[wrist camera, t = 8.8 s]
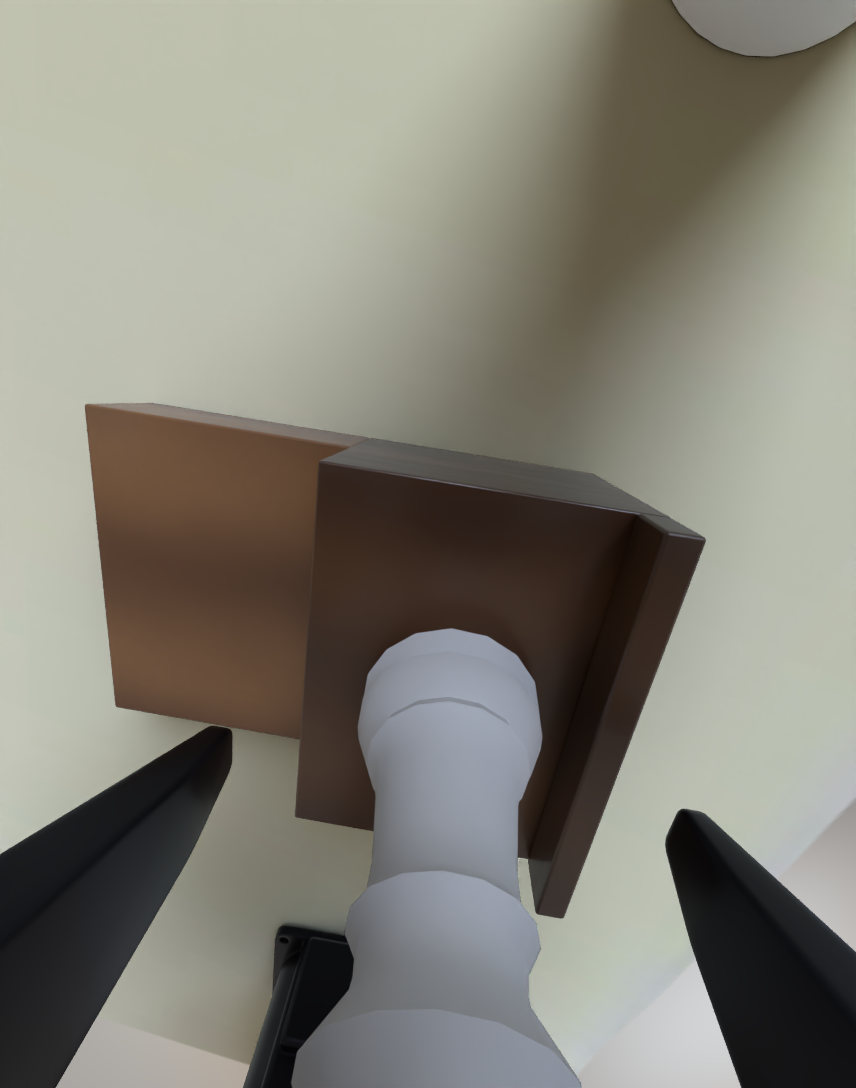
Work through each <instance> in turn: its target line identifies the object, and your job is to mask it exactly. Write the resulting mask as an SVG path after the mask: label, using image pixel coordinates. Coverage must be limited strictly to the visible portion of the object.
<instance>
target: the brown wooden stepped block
mask: <svg viewBox="0 0 856 1088" xmlns="http://www.w3.org/2000/svg"><path fill="white" fill-rule="evenodd" d="M85 413H86V423H87V433H88V442H89V452H90V462H91V471H92V481H93V491H94V501H95V510H96V520H97V530H98V540H99V549H100V559H101V569H102V578H103V588H104V598H105V608H106V617H107V627H108V637H109V647H110V656H111V666H112V676H113V685H114V695H115V705H116V707H119V708H125V709H131V710H136V711H142V712H148V713H153V714H159V715H165V716H170V717H176V718H182V719H187V720H193V721H199V722H204V723H210V724H216V725H222V726H227V727H233V728H239V729H244V730H250V731H256V732H261V733H267V734H273V735H278V736H284V737H290V738H295V739H300V748H299V763H298V778H297V793H296V808H295V817H297V818H303V819H309V820H314V821H320V822H325V823H331V824H336V825H342V826H347V827H353V828H358V829H364V830H370V831H374V817H375V800H376V795H375V790H374V789H373V786H372V783H371V780H370V776H369V773H368V769H367V766H366V763H365V759H364V756H363V752H362V749H361V746H360V742H359V739H358V722H359V717H360V711H361V706H362V701H363V697H364V692H365V687H366V681H367V676H368V673H369V672H370V671H371V669H372V668H373V667H374V665H375V664H376V663H377V661H378V660H379V659H380V657H381V656H382V655H383V653H384V652H385V651H386V649H388V648H390V647H392V646H394V645H396V644H397V643H399V642H401V641H403V640H405V639H406V638H408V637H410V636H412V635H414V634H415V633H422V632H429V631H436V630H444V629H451V628H452V629H457V630H461V631H466V632H470V633H475V634H480V635H484V636H488V637H490V638H491V639H493V640H494V641H496V642H497V643H499V644H500V645H502V646H503V647H505V648H506V649H508V650H510V651H511V652H513V653H514V654H516V655H517V656H518V658H519V659H520V660H521V662H522V663H523V665H524V666H525V668H526V669H527V671H528V672H529V674H530V675H531V677H532V678H533V680H534V681H535V685H536V693H537V700H538V707H539V716H540V723H541V730H542V743H541V750H540V752H539V755H538V758H537V761H536V763H535V766H534V769H533V772H532V774H531V777H530V778H529V781H528V783H527V786H526V789H525V792H524V794H523V797H522V799H521V800H520V801H519V805H518V857H519V858H525V859H528V864H529V871H530V878H531V885H532V892H533V899H534V906H535V911H536V913H537V914H538V915H544V916H549V917H555V918H560V919H562V918H564V916H565V913H566V911H567V908H568V905H569V903H570V900H571V897H572V895H573V892H574V889H575V887H576V884H577V881H578V879H579V876H580V873H581V871H582V868H583V866H584V863H585V860H586V858H587V855H588V852H589V850H590V847H591V844H592V842H593V839H594V836H595V834H596V831H597V828H598V826H599V823H600V820H601V818H602V815H603V812H604V810H605V807H606V805H607V802H608V799H609V797H610V794H611V791H612V789H613V786H614V783H615V781H616V778H617V775H618V773H619V770H620V767H621V765H622V762H623V759H624V757H625V754H626V751H627V749H628V746H629V744H630V741H631V738H632V736H633V733H634V730H635V728H636V725H637V722H638V720H639V717H640V714H641V712H642V709H643V706H644V704H645V701H646V698H647V696H648V693H649V690H650V688H651V685H652V683H653V680H654V677H655V675H656V672H657V669H658V667H659V664H660V661H661V659H662V656H663V653H664V651H665V648H666V645H667V643H668V640H669V637H670V635H671V632H672V629H673V627H674V624H675V622H676V619H677V616H678V614H679V611H680V608H681V606H682V603H683V600H684V598H685V595H686V592H687V590H688V587H689V584H690V582H691V579H692V576H693V574H694V571H695V568H696V566H697V563H698V561H699V558H700V555H701V553H702V550H703V547H704V545H705V538H704V537H703V536H701V535H699V534H697V533H696V532H694V531H692V530H690V529H689V528H687V527H685V526H683V525H682V524H680V523H678V522H676V521H675V520H673V519H671V518H670V517H668V516H666V515H665V514H663V513H661V512H659V511H658V510H656V509H654V508H652V507H651V506H649V505H647V504H645V503H644V502H642V501H640V500H638V499H637V498H635V497H633V496H631V495H630V494H628V493H626V492H624V491H623V490H621V489H619V488H617V487H615V486H614V485H612V484H610V483H608V482H607V481H605V480H603V479H601V478H600V477H598V476H596V475H594V474H591V473H585V472H579V471H573V470H566V469H560V468H554V467H548V466H542V465H535V464H529V463H523V462H517V461H510V460H504V459H498V458H492V457H486V456H479V455H473V454H467V453H461V452H454V451H448V450H442V449H436V448H429V447H423V446H417V445H411V444H405V443H398V442H392V441H386V440H380V439H373V438H371V439H369V438H367V437H361V436H354V435H348V434H342V433H336V432H329V431H323V430H317V429H311V428H305V427H298V426H292V425H286V424H280V423H273V422H267V421H261V420H255V419H248V418H242V417H236V416H230V415H224V414H217V413H211V412H205V411H199V410H192V409H186V408H180V407H174V406H168V405H161V404H155V403H120V404H86V405H85Z"/></svg>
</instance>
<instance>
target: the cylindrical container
mask: <svg viewBox="0 0 856 1088" xmlns="http://www.w3.org/2000/svg"><path fill="white" fill-rule="evenodd" d="M672 1H673V3H674V5H675V6H676V8H677V10H678V12H679V13H680V15H681V16H682V17H683V18H684V19H685V20H686V21H687V22H688V23H689V24H690V26H691V27H692V28H693V29H694V30H695V31H696V32H697V33H698V34H700V35H701V36H703V37H704V38H706V39H707V40H709V41H710V42H712V43H713V44H715V45H717V46H718V47H720V48H723V49H726V50H729V51H732V52H736V53H739V54H742V55H745V56H778V55H783V54H787V53H792V52H796V51H801V50H805V49H807V48H809V47H811V46H814V45H816V44H818V43H820V42H822V41H825V40H827V39H829V38H831V37H833V36H835V35H837V34H838V33H839V32H841V31H842V30H844V29H845V28H847V27H848V26H850V25H851V24H853V23H854V22H855V21H856V0H672Z"/></svg>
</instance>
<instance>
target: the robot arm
mask: <svg viewBox="0 0 856 1088" xmlns="http://www.w3.org/2000/svg"><path fill="white" fill-rule="evenodd" d="M231 765H232V731H231V730H230V729H229V728H224V727H218V726H210V727H207V728H206V729H204V730H202V731H201V732H199V733H197V734H196V735H194V736H193V737H191V738H189V739H188V740H186V741H184V742H183V743H181V744H180V745H178V746H176V747H175V748H173V749H171V750H170V751H168V752H166V753H165V754H163V755H162V756H160V757H158V758H157V759H155V760H153V761H152V762H150V763H148V764H147V765H145V766H144V767H142V768H140V769H139V770H137V771H135V772H134V773H132V774H130V775H129V776H127V777H126V778H124V779H122V780H121V781H119V782H117V783H116V784H114V785H112V786H111V787H109V788H108V789H106V790H104V791H103V792H101V793H99V794H98V795H96V796H95V797H93V798H91V799H90V800H88V801H86V802H85V803H83V804H81V805H80V806H78V807H77V808H75V809H73V810H72V811H70V812H68V813H67V814H65V815H63V816H62V817H60V818H59V819H57V820H55V821H54V822H52V823H50V824H49V825H47V826H45V827H44V828H42V829H41V830H39V831H37V832H36V833H34V834H32V835H31V836H29V837H27V838H26V839H24V840H23V841H21V842H19V843H18V844H16V845H14V846H13V847H11V848H9V849H8V850H6V851H5V852H3V853H1V854H0V1088H55V1087H56V1086H57V1084H58V1082H59V1081H60V1079H61V1077H62V1076H63V1074H64V1072H65V1071H66V1069H67V1067H68V1065H69V1064H70V1062H71V1060H72V1059H73V1057H74V1055H75V1053H76V1052H77V1050H78V1048H79V1046H80V1045H81V1043H82V1041H83V1040H84V1038H85V1036H86V1034H87V1033H88V1031H89V1029H90V1028H91V1026H92V1024H93V1022H94V1021H95V1019H96V1017H97V1016H98V1014H99V1012H100V1010H101V1009H102V1007H103V1005H104V1004H105V1002H106V1000H107V998H108V997H109V995H110V993H111V992H112V990H113V988H114V986H115V985H116V983H117V981H118V979H119V978H120V976H121V974H122V973H123V971H124V969H125V967H126V966H127V964H128V962H129V961H130V959H131V957H132V955H133V954H134V952H135V950H136V949H137V947H138V945H139V943H140V942H141V940H142V938H143V936H144V935H145V933H146V931H147V930H148V928H149V926H150V924H151V923H152V921H153V919H154V918H155V916H156V914H157V912H158V911H159V909H160V907H161V906H162V904H163V902H164V900H165V899H166V897H167V895H168V893H169V892H170V890H171V888H172V887H173V885H174V883H175V881H176V880H177V878H178V876H179V875H180V873H181V871H182V869H183V868H184V866H185V864H186V862H187V860H188V859H189V857H190V855H191V853H192V851H193V849H194V847H195V845H196V843H197V841H198V839H199V837H200V834H201V832H202V830H203V828H204V826H205V824H206V821H207V819H208V817H209V815H210V813H211V811H212V808H213V806H214V804H215V802H216V800H217V798H218V796H219V793H220V791H221V789H222V787H223V785H224V783H225V780H226V778H227V776H228V774H229V772H230V769H231ZM665 846H666V853H667V857H668V860H669V864H670V868H671V872H672V876H673V879H674V883H675V887H676V891H677V895H678V898H679V902H680V906H681V910H682V914H683V917H684V921H685V925H686V929H687V932H688V936H689V939H690V943H691V946H692V949H693V952H694V955H695V958H696V961H697V964H698V967H699V969H700V972H701V975H702V978H703V980H704V983H705V986H706V989H707V992H708V995H709V998H710V1000H711V1003H712V1006H713V1009H714V1012H715V1015H716V1017H717V1020H718V1023H719V1026H720V1029H721V1032H722V1034H723V1037H724V1040H725V1043H726V1045H727V1048H728V1051H729V1054H730V1057H731V1060H732V1063H733V1066H734V1068H735V1071H736V1074H737V1077H738V1080H739V1082H740V1085H741V1088H856V952H855V951H854V950H853V949H852V948H851V947H850V946H849V945H847V944H846V943H845V942H844V941H843V940H842V939H841V938H840V937H839V936H838V935H837V934H836V933H834V932H833V931H832V930H831V929H830V928H829V927H828V926H827V925H826V924H825V923H824V922H823V921H821V920H820V919H819V918H818V917H817V916H816V915H815V914H814V913H813V912H811V911H810V910H809V909H808V908H807V907H806V906H805V905H804V904H803V903H802V902H801V901H800V900H799V899H797V898H796V897H795V896H794V895H793V894H792V893H791V892H790V891H789V890H788V889H787V888H785V887H784V886H783V885H782V884H781V883H780V882H779V881H778V880H777V879H776V878H775V877H774V876H772V875H771V874H770V873H769V872H768V871H767V870H766V869H765V868H764V867H763V866H762V865H760V864H759V863H758V862H757V861H756V860H755V859H754V858H753V857H752V856H751V855H750V854H748V853H747V852H746V851H745V850H744V849H743V848H742V847H741V846H740V845H739V844H738V843H736V842H735V841H734V840H733V839H732V838H731V837H730V836H729V835H728V834H727V833H726V832H724V831H723V830H722V829H721V828H720V827H719V826H718V825H717V824H716V823H715V822H714V821H713V820H711V819H710V818H709V817H708V816H707V815H706V814H704V813H702V812H700V811H694V810H689V809H681V810H679V811H678V812H677V814H676V816H675V819H674V821H673V823H672V825H671V827H670V830H669V832H668V834H667V837H666V842H665ZM353 965H354V957H353V954H352V952H351V949H350V946H349V943H348V941H347V938H346V937H344V936H339V935H333V934H328V933H323V932H317V931H312V930H306V929H301V928H296V927H290V926H281V927H280V928H279V930H278V932H277V935H276V938H275V954H274V973H273V991H272V998H271V1001H270V1004H269V1007H268V1011H267V1014H266V1017H265V1020H264V1023H263V1026H262V1030H261V1033H260V1036H259V1039H258V1042H257V1045H256V1048H255V1052H254V1055H253V1058H252V1061H251V1064H250V1067H249V1071H248V1074H247V1077H246V1080H245V1083H244V1086H243V1088H292V1084H291V1081H292V1076H293V1071H294V1065H295V1060H296V1055H297V1051H298V1050H299V1049H300V1048H301V1047H302V1045H303V1044H304V1043H305V1042H306V1041H307V1039H308V1038H309V1037H310V1036H311V1035H312V1033H313V1032H314V1031H315V1030H316V1029H317V1027H318V1026H319V1025H320V1024H321V1023H322V1021H323V1020H324V1019H325V1018H326V1017H327V1015H328V1014H329V1013H330V1012H331V1011H332V1009H333V1008H334V1007H335V1006H336V1005H337V1003H338V1002H339V1001H340V1000H341V999H342V997H343V996H344V995H345V994H346V993H347V991H348V990H349V987H350V984H351V981H352V977H353Z"/></svg>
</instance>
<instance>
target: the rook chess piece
mask: <svg viewBox="0 0 856 1088" xmlns="http://www.w3.org/2000/svg"><path fill="white" fill-rule="evenodd" d="M358 739H359V742H360V746H361V749H362V752H363V756H364V759H365V763H366V766H367V769H368V773H369V776H370V780H371V783H372V786H373V789H374V790H375V795H376V800H375V817H374V833H373V850H372V864H371V869H370V874H369V879H368V884H367V890H366V891H365V892H364V893H363V894H362V895H361V896H360V897H359V898H358V899H357V900H356V901H355V902H354V903H353V904H352V905H351V906H350V908H349V912H348V917H347V921H346V926H345V931H344V933H345V935H346V938H347V941H348V943H349V946H350V949H351V952H352V954H353V957H354V965H353V977H352V981H351V984H350V987H349V990H348V991H347V993H346V994H345V995H344V996H343V997H342V999H341V1000H340V1001H339V1002H338V1003H337V1005H336V1006H335V1007H334V1008H333V1009H332V1011H331V1012H330V1013H329V1014H328V1015H327V1017H326V1018H325V1019H324V1020H323V1021H322V1023H321V1024H320V1025H319V1026H318V1027H317V1029H316V1030H315V1031H314V1032H313V1033H312V1035H311V1036H310V1037H309V1038H308V1039H307V1041H306V1042H305V1043H304V1044H303V1045H302V1047H301V1048H300V1049H299V1050H298V1051H297V1055H296V1060H295V1065H294V1071H293V1076H292V1081H291V1084H292V1088H582V1087H581V1082H580V1081H579V1079H578V1078H577V1076H576V1075H575V1073H574V1072H573V1070H572V1069H571V1067H570V1066H569V1064H568V1063H567V1061H566V1060H565V1058H564V1057H563V1055H562V1054H561V1052H560V1051H559V1049H558V1047H557V1046H556V1044H555V1043H554V1041H553V1040H552V1038H551V1037H550V1035H549V1034H548V1032H547V1031H546V1029H545V1028H544V1026H543V1025H542V1023H541V1022H540V1020H539V1019H538V1017H537V1016H536V1014H535V1013H534V1011H533V1010H532V1008H531V1006H530V1001H529V980H528V976H529V974H530V972H531V970H532V968H533V965H534V963H535V961H536V959H537V957H538V954H539V952H540V950H541V947H540V941H539V936H538V930H537V924H536V922H535V921H534V919H533V918H532V917H531V916H530V914H529V913H528V912H527V911H526V909H525V908H524V907H523V906H522V905H521V900H520V892H519V884H518V875H517V861H518V805H519V801H520V800H521V799H522V797H523V794H524V792H525V789H526V786H527V783H528V781H529V778H530V777H531V774H532V772H533V769H534V766H535V763H536V761H537V758H538V755H539V752H540V750H541V743H542V730H541V723H540V716H539V707H538V700H537V693H536V685H535V681H534V680H533V678H532V677H531V675H530V674H529V672H528V671H527V669H526V668H525V666H524V665H523V663H522V662H521V660H520V659H519V658H518V656H517V655H516V654H514V653H513V652H511V651H510V650H508V649H506V648H505V647H503V646H502V645H500V644H499V643H497V642H496V641H494V640H493V639H491V638H490V637H488V636H484V635H480V634H475V633H470V632H466V631H461V630H457V629H452V628H451V629H444V630H436V631H429V632H422V633H415V634H414V635H412V636H410V637H408V638H406V639H405V640H403V641H401V642H399V643H397V644H396V645H394V646H392V647H390V648H388V649H386V651H385V652H384V653H383V655H382V656H381V657H380V659H379V660H378V661H377V663H376V664H375V665H374V667H373V668H372V669H371V671H370V672H369V673H368V676H367V681H366V687H365V692H364V697H363V701H362V706H361V711H360V717H359V722H358Z"/></svg>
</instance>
